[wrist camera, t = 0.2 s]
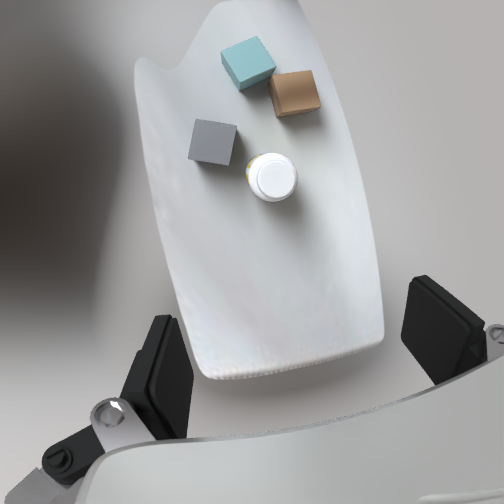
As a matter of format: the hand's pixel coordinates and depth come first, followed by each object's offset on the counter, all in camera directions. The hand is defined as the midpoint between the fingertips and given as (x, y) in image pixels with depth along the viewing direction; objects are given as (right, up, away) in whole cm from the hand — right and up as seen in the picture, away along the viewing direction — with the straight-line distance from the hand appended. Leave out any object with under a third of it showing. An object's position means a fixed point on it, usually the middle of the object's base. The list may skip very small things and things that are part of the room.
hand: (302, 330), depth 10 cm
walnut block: (+3, +24, +25) cm, 35 cm away
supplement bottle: (0, +14, +28) cm, 31 cm away
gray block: (-7, +18, +26) cm, 32 cm away
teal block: (-3, +28, +23) cm, 36 cm away
